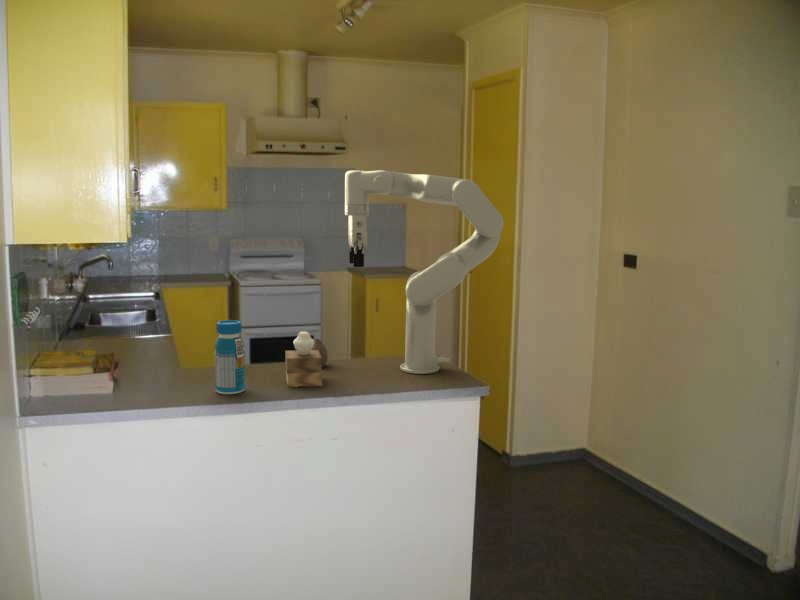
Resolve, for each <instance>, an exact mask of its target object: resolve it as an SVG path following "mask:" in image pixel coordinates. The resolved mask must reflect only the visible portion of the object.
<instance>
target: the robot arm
mask: <svg viewBox="0 0 800 600" xmlns="http://www.w3.org/2000/svg"><path fill="white" fill-rule="evenodd" d="M370 194H373V195H379V196H382V195H387V196H394V197H395V196H396V197H401V198H402V197H403V198H408V199H412V200H416V201H420V202H423V203H429V204H430V203H431V204H437V205H439V204H440V205H444V206H445V205H446V206H452V207H457V208H458V209H459V210H460V211H461V213H462V214H463V215H464V217H465V218H466V219H467V220H468V221H469V223H470V224H471V225H472V226H473V227H474V231H473V233H472V235H470V237H468V238H467V239H466V240H464V241H462V243H460V244H459V245H457V246H456V247H454V248H453V249H452V250H450V251H448V252H446V253H445V254H442V255H441V256H439V257H438V259H437V260H436V261H435V263H432V264H431V265H430V266H428V267H427V268H425V269H423V270H419V271H415V272H413V273H412V274H411V275H410V276H409V277H408V279H407V281H406V283H405V290H404V292H405V296H406V299H405V300H406V302H405V303H406V304H405V336H404V337H405V341H404V343H405V346H404V348H405V349H404V362H403V363H401V364H400V365H399V369H400V370H401V371H402V372H404V373H409V374H415V375H425V374H426V375H427V374H432V373H433V374H435V373H437V372H438V371H440V365H441V364H444V365H449V364H450V358H449V357H444V356H439V357H438V356H437V355H436V353H435V352H436V327H437V325H436V324H437V323H436V322H437V300H438V299H439V298H441V297H443V296H444V295H445V294H447V293H448V292H450V291H451V290H453V289H455V288H456V287H457V286H459V284H461V283H462V282H463V281H464V279H465V278H466V275H467V274H468V273H469V272H470V271H472V270H474V268H476V267H477V266H478V265H480V264H481V263H483V262H484V261H486V260H487V259H488V258H489V257H490V256H491V255H492V254H493V253H494V252H495V250H496V249H497V247H498V245H499V242H500V239H501V236H502V235H501V234H502V230H503V227H504V218H503V215H502V214H501V213H500V212H499V211H498V209H497V208H496V207H495V206H494V205H493V203H492V202H491V201H490V200H489V198H488V197H487V196H486V195H485V193H483V191H482V189H481V188H480V187H479V186H478V184H477V183H476V182H475V181H473V180H471V179H466V178H457V177H450V176H441V175H436V174H435V175H434V174H426V173H423V174H421V173H420V174H418V173H417V174H414V173H413V174H412V173H404V172H398V171H397V172H396V171H392V170H391V171H390V170H385V169H379V170H378V169H377V170H367V171H366V170H359V169H358V170H347V171H345V174H344V215H345V216H348V217H347V220H348V221H347V229H348V230H347V236H348V237H347V239H348V244H349V250H348V253H349V255H348V256H349V261H348V262H349V264H353V267H354V268H363V267H364V266H365V254H364V253H365V252H364V248H367V247H368V225H367V224H368V223H367V221H368V220H367V216H369V215H370Z"/></svg>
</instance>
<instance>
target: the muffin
mask: <svg viewBox="0 0 800 600" xmlns="http://www.w3.org/2000/svg"><path fill="white" fill-rule="evenodd" d="M313 345H314V339H313V338H312V336H311V334H310V333H309V332H308V331H304V330H303V331H299V332H298V333H297V337H296V338H295V339H294V340H293V346H294V349H295V351H297V352H298V354H299V355H308V354H309V353H310V352H311V350H312V348H313Z"/></svg>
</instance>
